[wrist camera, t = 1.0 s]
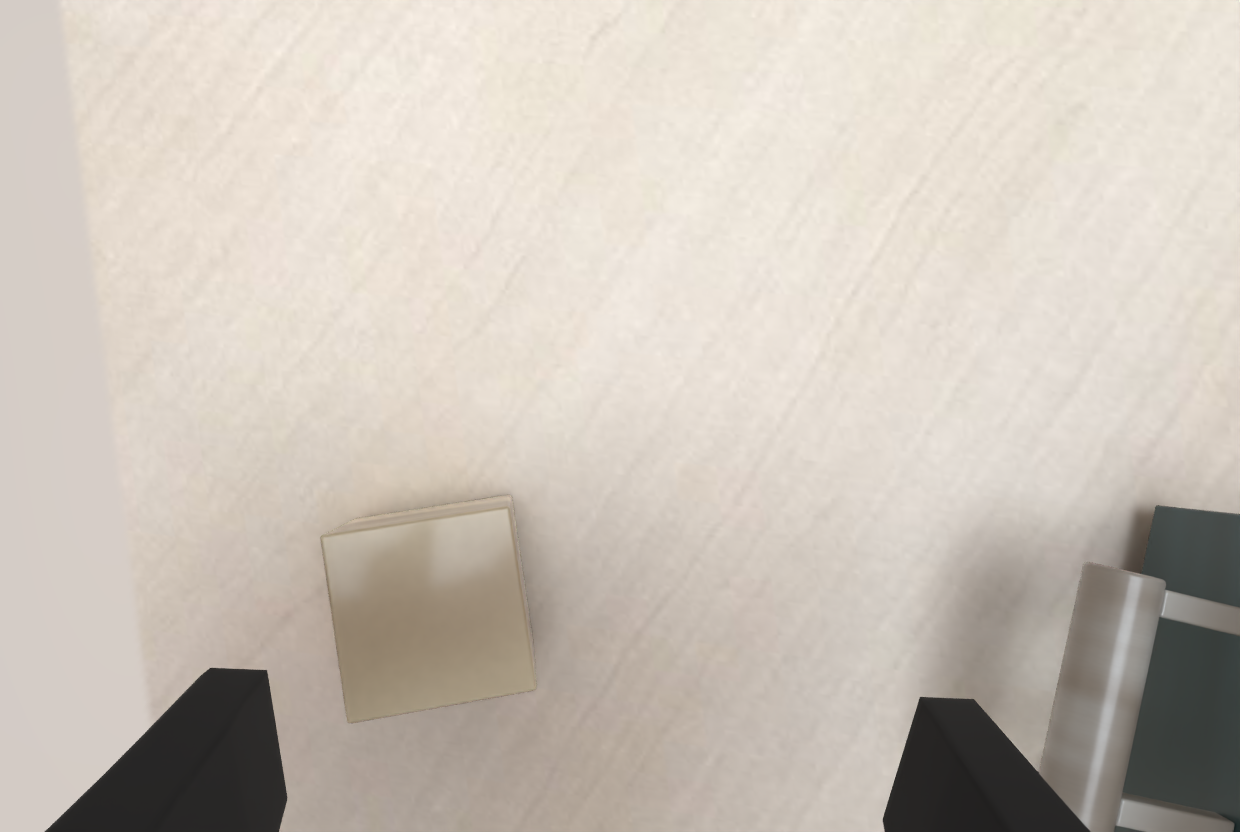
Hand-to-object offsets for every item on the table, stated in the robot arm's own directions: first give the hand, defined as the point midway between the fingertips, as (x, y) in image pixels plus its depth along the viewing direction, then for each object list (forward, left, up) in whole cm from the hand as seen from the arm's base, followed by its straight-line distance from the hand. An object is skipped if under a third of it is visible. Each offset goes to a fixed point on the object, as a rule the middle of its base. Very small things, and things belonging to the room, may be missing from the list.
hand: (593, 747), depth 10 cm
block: (-1, +2, -13) cm, 14 cm away
